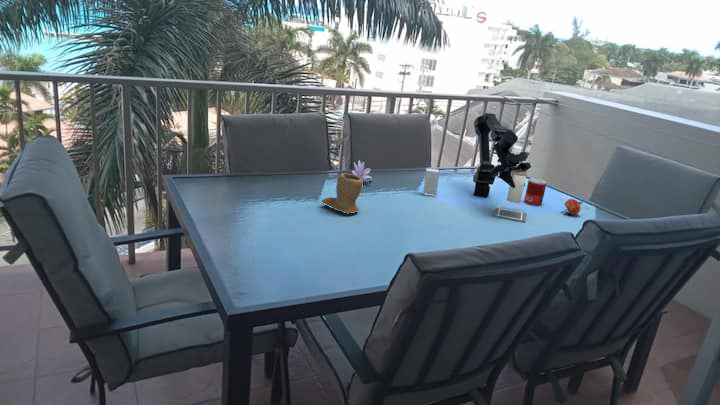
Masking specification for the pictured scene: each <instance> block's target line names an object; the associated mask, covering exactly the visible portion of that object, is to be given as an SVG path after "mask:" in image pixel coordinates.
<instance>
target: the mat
mask: <svg viewBox="0 0 720 405" xmlns="http://www.w3.org/2000/svg"><path fill="white" fill-rule="evenodd" d="M493 218H500V219H504V220H510V221H515V222H520V223H523V224H525V223H526V221H527V213H526V212H521V211H516V210H510V209H505V208H500V207H495V210H494V213H493Z"/></svg>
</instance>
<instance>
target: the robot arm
mask: <svg viewBox="0 0 720 405" xmlns="http://www.w3.org/2000/svg"><path fill="white" fill-rule="evenodd" d="M473 128H474V132H475V134H476V135H477V136H478V149H479V150H478V152H479V154H478V155H479V165H478V167H477V169H476V172H475V173H474V174H473V177H472V182H473V183H474V190H473V194H472V195H473V196H474V197H480V198H485V199H487V198H488V197H489V195H490V190H491V186H490V185H492V186H493V185H494V183H495V180H496V177H497V178H498V179H501V180H502V181H504V183H506V184H508V185H509V186H511V187H512V188H515V184H514V181H513V179H512V170H514V169H517V170H523V171H526V172H527V171H528V170H529V169H531V168H532V165H531V163H530V162H527V160H528V158H529V155H528V153H527V152H526V151H521V152H519V153H516V154H515V153H514V152H512V151H511V149H512V148H513V146H514V145H516V143H517V141H519V140H518V138H519V137H518V136H517V134H516V133H515V132H513V129H508V127H506V126H503V125H502V124H501V123H500V121H499V120H498V118H497V116H496V114H494V113H490V112H489V113H488V112H487V113H483V114H482V115H480V116H477V117H476V118H475V120H474V122H473ZM490 138H491V141H492V142H496V143H495V144H493V147H492V151H493V152H495V153H496V156H497V157H498V159H497V163H500V164H497V165H496V166H495V165H494V164H492V163H491V154H490V153H491V152H490ZM520 162H521V163H520ZM525 186H526V182H525V183H524V187H525Z"/></svg>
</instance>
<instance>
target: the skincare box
mask: <svg viewBox="0 0 720 405" xmlns="http://www.w3.org/2000/svg"><path fill="white" fill-rule="evenodd" d="M424 175H425V176H424V186H423V191H424V193H427V194H433V195H436V196H437V193H438V187H439V186H438V184H439V179H440V177H439V176H440V170H439V169H433V168H426V169H425V174H424Z"/></svg>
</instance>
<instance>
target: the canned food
mask: <svg viewBox="0 0 720 405" xmlns="http://www.w3.org/2000/svg"><path fill="white" fill-rule="evenodd" d="M547 182H548V181H546V180H544V179H540V178H533V177H532V178H529V179H528V182H527V186H526V190H525V196H524V203H525V204H528V205H531V206H541V205H543V204H542V203H543V201H544V196H545V192H546V187H547Z"/></svg>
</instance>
